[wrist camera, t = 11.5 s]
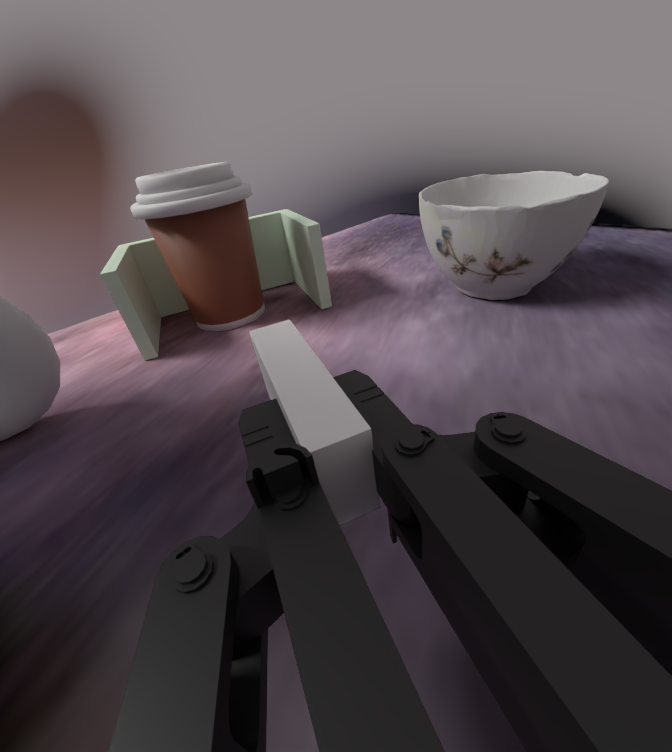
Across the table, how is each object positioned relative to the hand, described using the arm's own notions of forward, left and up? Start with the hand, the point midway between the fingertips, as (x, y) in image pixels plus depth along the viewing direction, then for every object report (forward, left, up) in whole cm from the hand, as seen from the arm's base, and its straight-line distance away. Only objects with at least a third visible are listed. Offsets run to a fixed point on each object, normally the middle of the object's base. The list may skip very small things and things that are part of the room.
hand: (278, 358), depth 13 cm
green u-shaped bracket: (0, +22, -6) cm, 23 cm away
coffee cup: (-1, +21, -6) cm, 22 cm away
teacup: (+22, +12, -6) cm, 25 cm away
